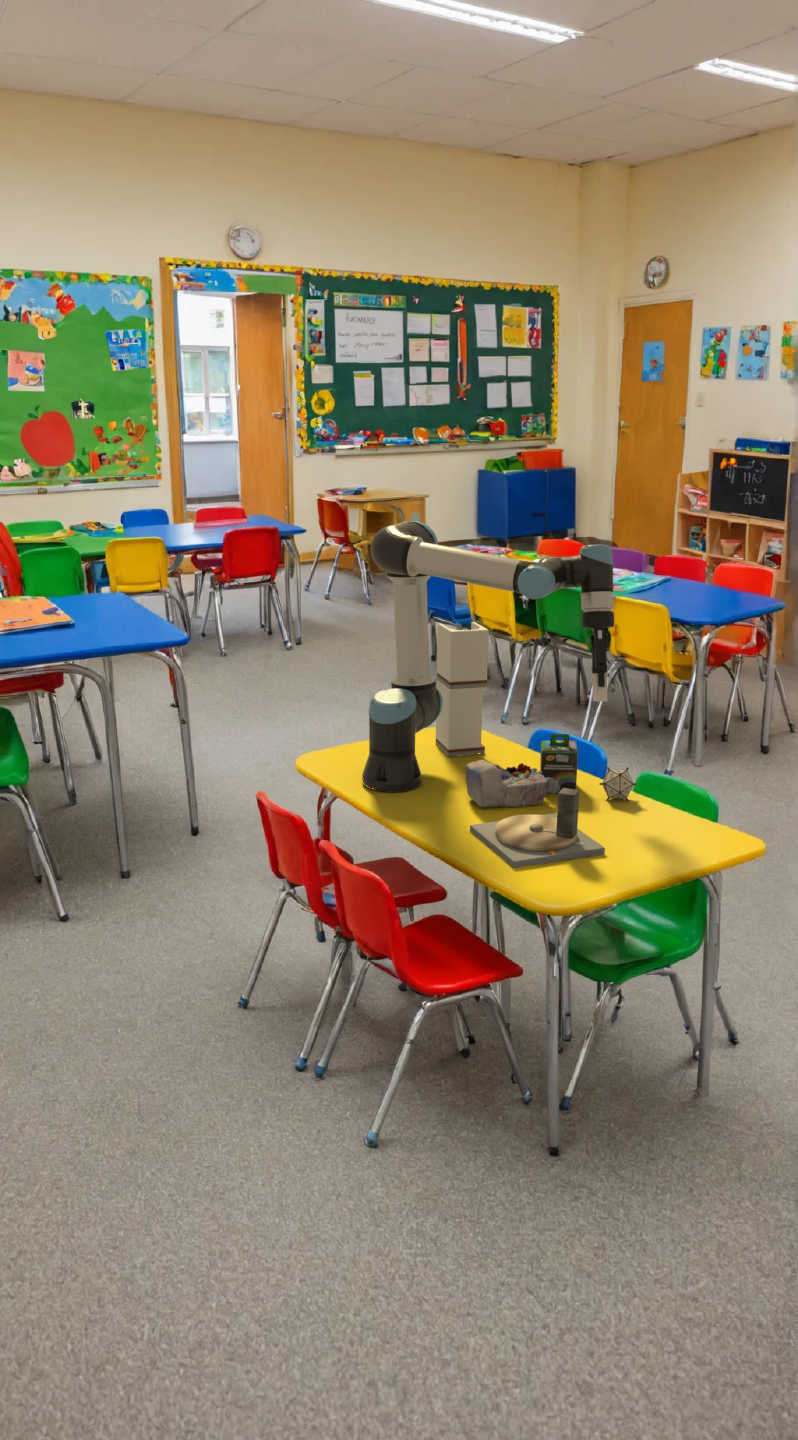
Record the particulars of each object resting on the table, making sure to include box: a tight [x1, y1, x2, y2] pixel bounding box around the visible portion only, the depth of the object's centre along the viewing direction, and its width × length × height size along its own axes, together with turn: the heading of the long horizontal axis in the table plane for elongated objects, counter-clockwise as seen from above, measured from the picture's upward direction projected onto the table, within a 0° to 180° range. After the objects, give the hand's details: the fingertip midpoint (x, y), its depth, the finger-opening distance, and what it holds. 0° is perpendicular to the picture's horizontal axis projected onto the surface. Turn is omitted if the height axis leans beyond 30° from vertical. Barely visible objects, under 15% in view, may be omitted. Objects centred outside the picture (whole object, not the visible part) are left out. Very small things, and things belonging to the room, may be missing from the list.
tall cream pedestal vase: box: [435, 621, 490, 757], centre depth 309 cm, size 11×11×35 cm
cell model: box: [465, 759, 550, 808], centre depth 273 cm, size 13×11×20 cm
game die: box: [599, 766, 637, 802], centre depth 275 cm, size 9×8×10 cm
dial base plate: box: [469, 812, 606, 869], centre depth 249 cm, size 22×22×2 cm
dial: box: [495, 788, 580, 851], centre depth 247 cm, size 18×18×12 cm
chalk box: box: [539, 733, 579, 795], centre depth 281 cm, size 9×9×15 cm
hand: (600, 701), depth 265 cm, fingers open, 13 cm apart
